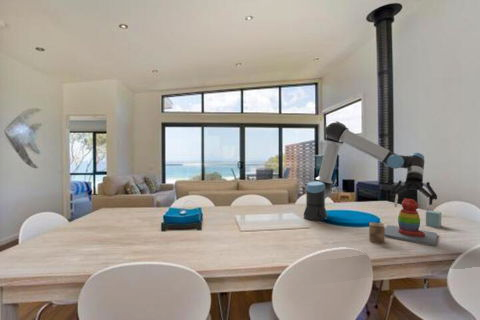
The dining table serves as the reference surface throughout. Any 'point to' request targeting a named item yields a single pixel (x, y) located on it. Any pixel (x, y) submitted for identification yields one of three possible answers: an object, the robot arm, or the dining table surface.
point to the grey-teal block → (433, 218)
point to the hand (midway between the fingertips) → (411, 207)
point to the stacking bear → (409, 219)
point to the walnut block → (376, 232)
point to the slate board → (427, 239)
